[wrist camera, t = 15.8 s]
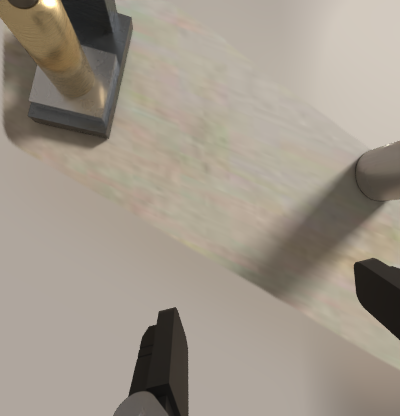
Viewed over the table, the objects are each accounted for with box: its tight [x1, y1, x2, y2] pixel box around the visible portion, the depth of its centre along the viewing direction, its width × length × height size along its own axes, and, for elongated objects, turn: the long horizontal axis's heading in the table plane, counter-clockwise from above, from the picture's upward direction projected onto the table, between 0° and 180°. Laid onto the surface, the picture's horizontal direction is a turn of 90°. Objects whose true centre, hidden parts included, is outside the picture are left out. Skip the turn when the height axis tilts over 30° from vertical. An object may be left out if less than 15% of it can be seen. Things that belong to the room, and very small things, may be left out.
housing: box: [0, 0, 94, 97], centre depth 25 cm, size 5×5×14 cm
